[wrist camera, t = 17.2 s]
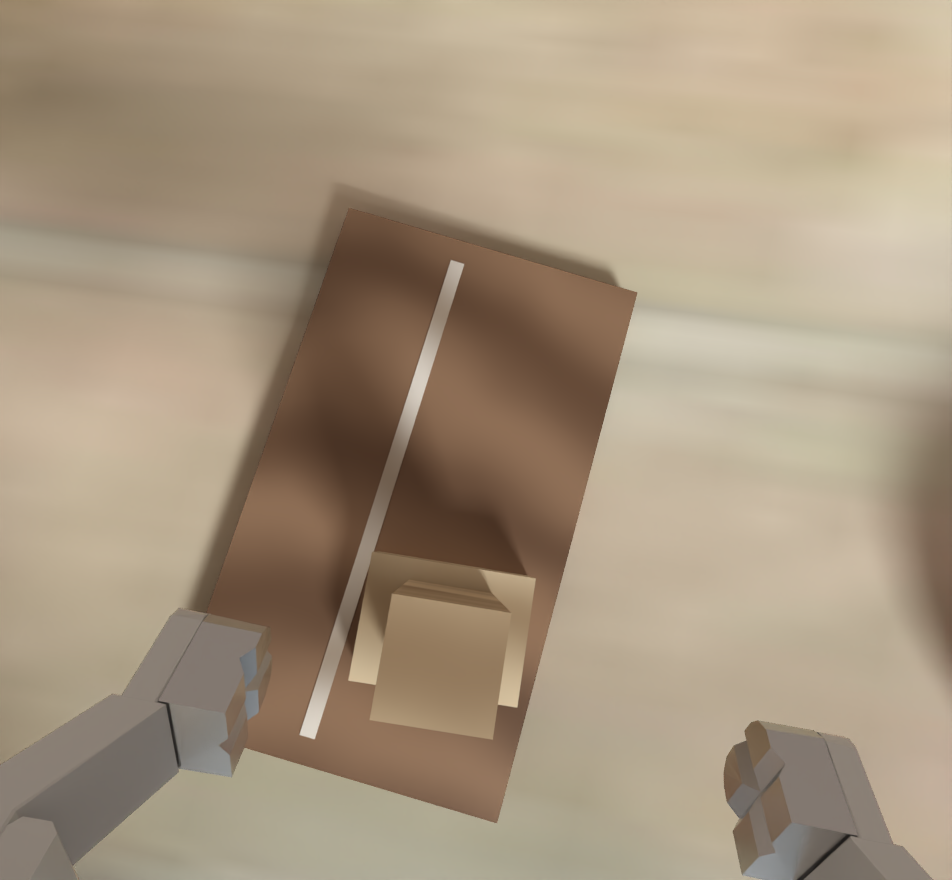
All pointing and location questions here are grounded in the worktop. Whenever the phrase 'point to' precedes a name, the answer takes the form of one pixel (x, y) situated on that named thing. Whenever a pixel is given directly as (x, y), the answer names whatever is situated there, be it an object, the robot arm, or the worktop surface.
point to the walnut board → (417, 483)
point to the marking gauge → (441, 642)
